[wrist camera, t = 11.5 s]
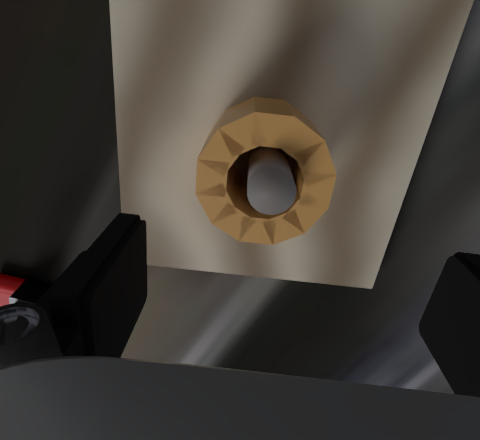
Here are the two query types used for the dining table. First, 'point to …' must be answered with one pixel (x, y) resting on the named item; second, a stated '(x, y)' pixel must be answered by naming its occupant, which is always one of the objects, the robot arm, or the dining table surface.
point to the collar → (235, 185)
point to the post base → (294, 92)
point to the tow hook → (21, 290)
